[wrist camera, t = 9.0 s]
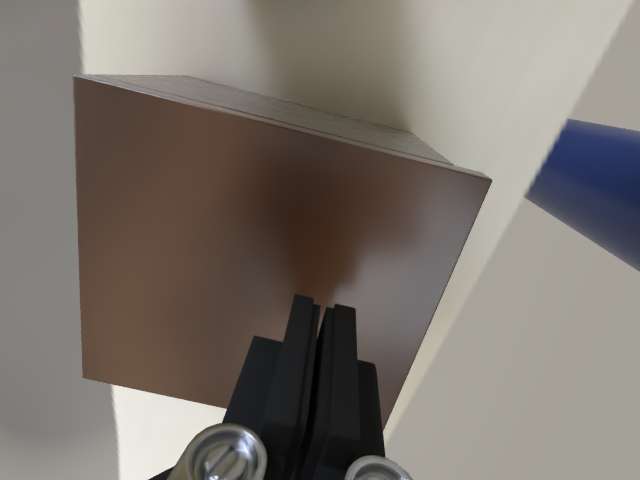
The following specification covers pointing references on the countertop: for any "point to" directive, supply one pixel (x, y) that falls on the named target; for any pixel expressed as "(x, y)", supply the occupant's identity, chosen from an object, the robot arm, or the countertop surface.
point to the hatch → (249, 239)
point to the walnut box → (284, 112)
